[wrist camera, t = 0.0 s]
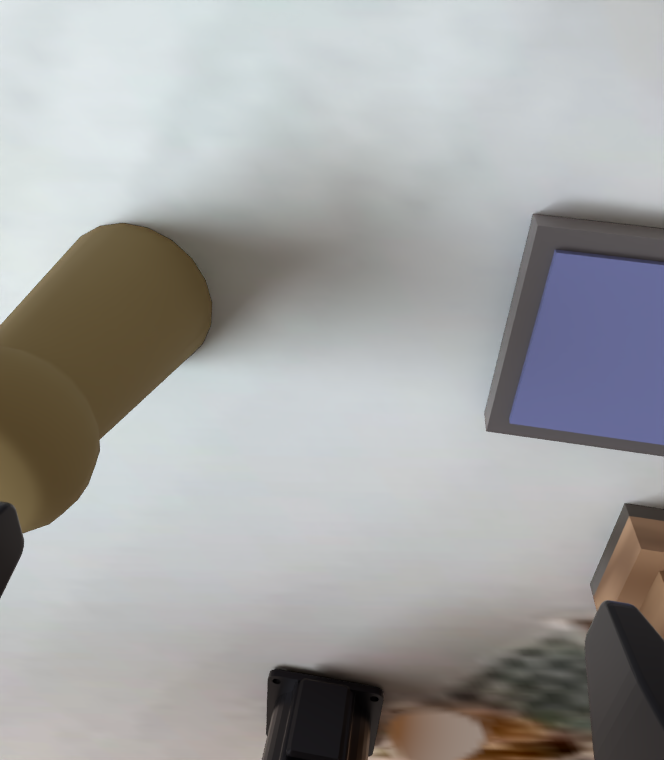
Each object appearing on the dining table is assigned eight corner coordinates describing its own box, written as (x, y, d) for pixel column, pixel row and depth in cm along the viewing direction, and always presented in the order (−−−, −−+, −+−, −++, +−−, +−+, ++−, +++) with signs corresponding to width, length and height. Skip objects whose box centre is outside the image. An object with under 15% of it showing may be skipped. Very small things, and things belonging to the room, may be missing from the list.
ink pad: (693, 442, 24) (707, 467, 23) (484, 413, 25) (486, 435, 24) (788, 242, 20) (812, 259, 19) (533, 214, 21) (539, 228, 19)
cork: (170, 202, 22) (-21, 351, 13) (236, 349, 25) (116, 558, 16) (33, 247, 24) (-224, 406, 15) (108, 379, 27) (-67, 584, 17)
